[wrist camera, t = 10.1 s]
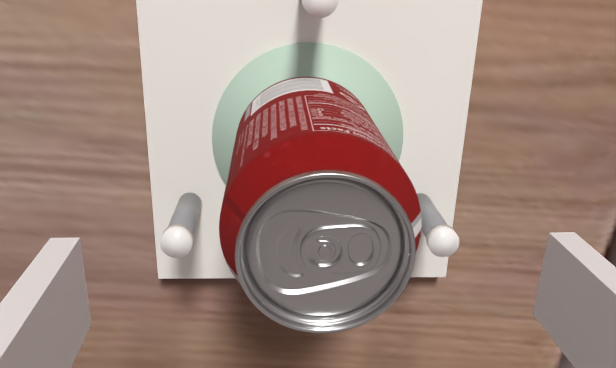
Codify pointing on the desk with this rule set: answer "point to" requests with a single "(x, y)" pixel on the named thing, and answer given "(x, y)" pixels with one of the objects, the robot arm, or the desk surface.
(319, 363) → the desk surface
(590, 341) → the robot arm
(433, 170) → the white pegged board
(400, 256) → the soda can
